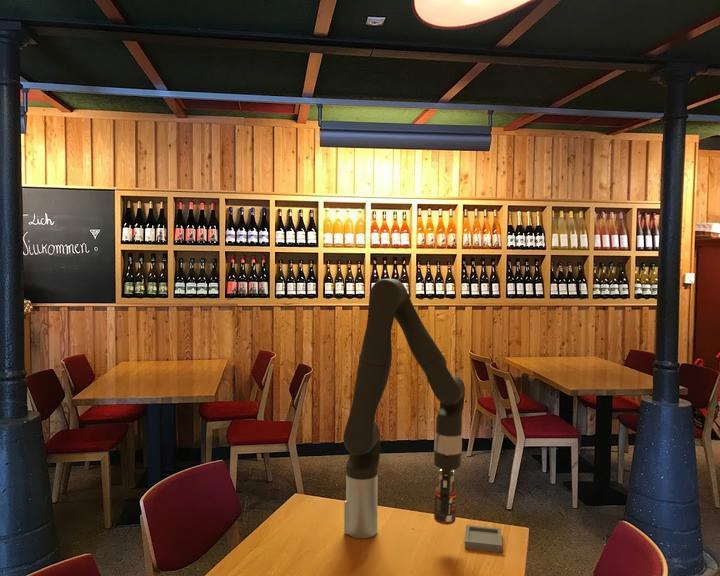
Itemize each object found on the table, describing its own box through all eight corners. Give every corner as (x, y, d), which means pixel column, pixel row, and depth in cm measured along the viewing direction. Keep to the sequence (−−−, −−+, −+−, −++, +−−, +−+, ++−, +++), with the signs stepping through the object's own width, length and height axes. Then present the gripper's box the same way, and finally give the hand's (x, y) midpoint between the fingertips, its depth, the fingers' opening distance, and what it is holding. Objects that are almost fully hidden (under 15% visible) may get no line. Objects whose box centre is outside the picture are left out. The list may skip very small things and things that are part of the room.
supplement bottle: (455, 527, 151) (456, 486, 151) (433, 524, 152) (434, 483, 152) (455, 517, 157) (457, 478, 156) (434, 514, 158) (436, 475, 158)
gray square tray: (464, 548, 154) (464, 541, 154) (466, 531, 164) (466, 524, 163) (501, 552, 152) (502, 545, 152) (500, 535, 161) (501, 528, 161)
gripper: (436, 439, 161) (434, 495, 162) (431, 456, 147) (429, 517, 148) (462, 441, 160) (460, 498, 161) (460, 459, 146) (457, 521, 147)
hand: (445, 507), depth 154 cm, fingers closed on supplement bottle, 6 cm apart
